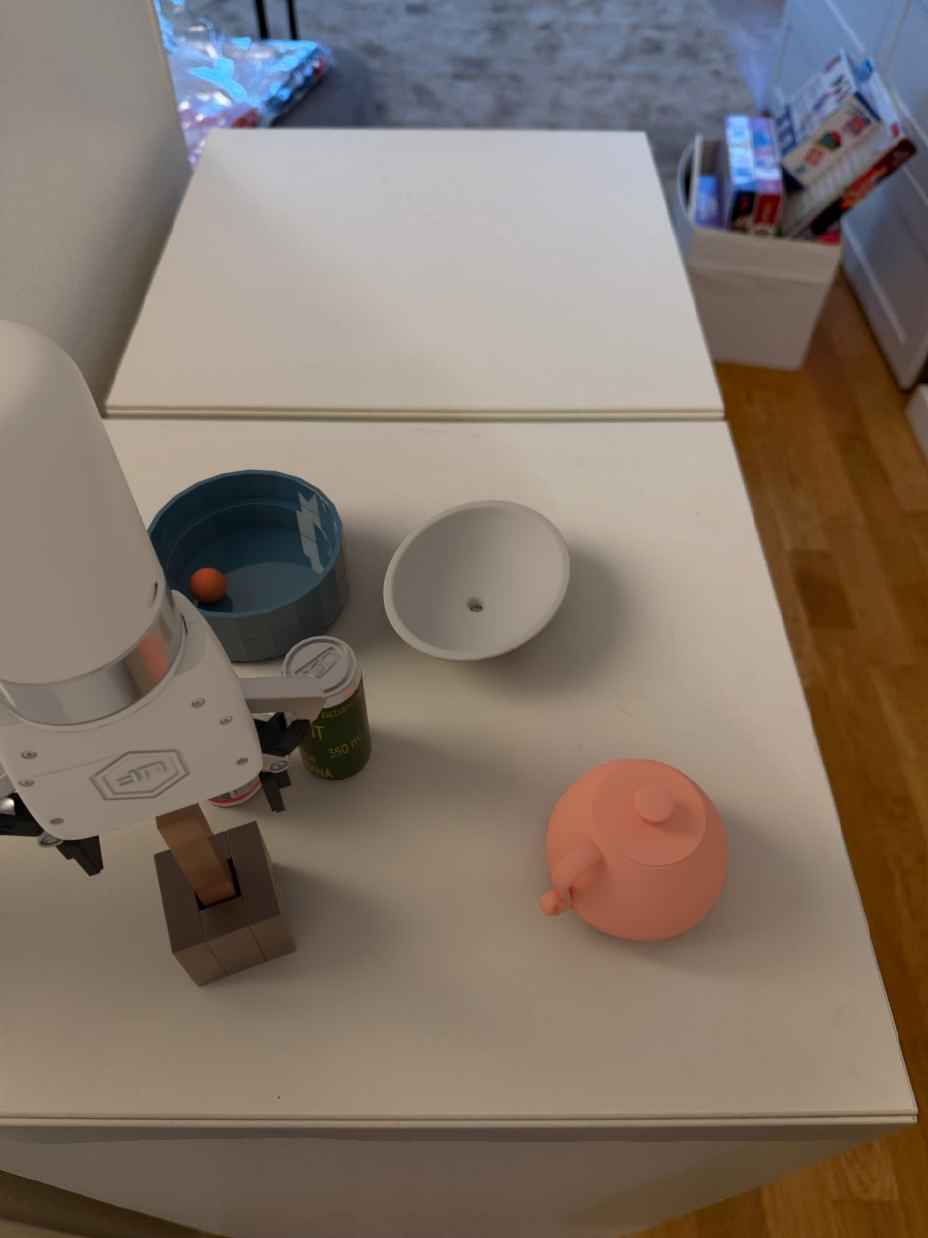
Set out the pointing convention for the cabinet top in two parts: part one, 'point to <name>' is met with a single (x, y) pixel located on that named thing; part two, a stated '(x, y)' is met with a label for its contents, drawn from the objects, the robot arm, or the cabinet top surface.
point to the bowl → (257, 558)
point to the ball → (207, 585)
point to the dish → (477, 580)
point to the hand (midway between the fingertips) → (185, 818)
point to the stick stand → (226, 911)
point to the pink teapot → (635, 851)
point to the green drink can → (333, 708)
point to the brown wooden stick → (198, 854)
